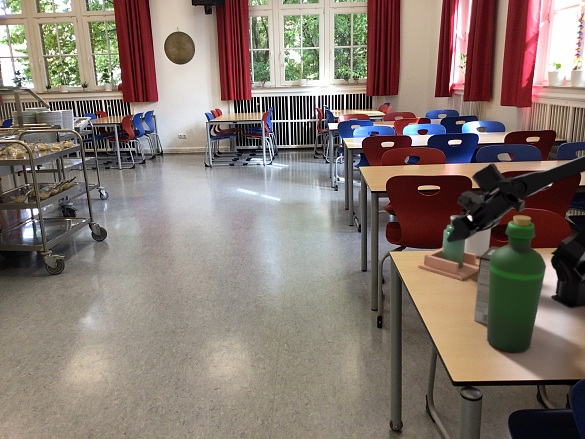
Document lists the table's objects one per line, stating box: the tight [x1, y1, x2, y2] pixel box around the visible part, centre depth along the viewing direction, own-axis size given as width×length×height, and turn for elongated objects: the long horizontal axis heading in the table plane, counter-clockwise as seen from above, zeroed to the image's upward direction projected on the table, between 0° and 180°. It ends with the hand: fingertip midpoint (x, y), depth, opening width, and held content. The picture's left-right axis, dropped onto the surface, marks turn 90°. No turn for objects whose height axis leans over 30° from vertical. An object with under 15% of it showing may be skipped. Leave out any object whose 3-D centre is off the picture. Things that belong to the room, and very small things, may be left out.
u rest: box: [418, 247, 479, 281], centre depth 147 cm, size 14×14×4 cm
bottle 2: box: [486, 214, 547, 353], centre depth 101 cm, size 11×11×28 cm
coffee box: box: [473, 245, 501, 325], centre depth 114 cm, size 9×6×16 cm
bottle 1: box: [442, 215, 465, 269], centre depth 145 cm, size 6×6×15 cm
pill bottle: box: [464, 214, 492, 258], centre depth 157 cm, size 8×8×15 cm
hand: (456, 237), depth 144 cm, fingers open, 9 cm apart
